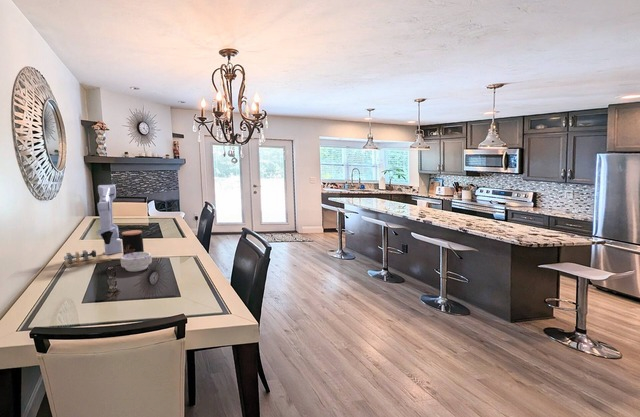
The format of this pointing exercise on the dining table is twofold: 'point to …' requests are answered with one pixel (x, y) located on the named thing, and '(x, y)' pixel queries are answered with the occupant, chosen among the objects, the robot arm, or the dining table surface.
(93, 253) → the shaft
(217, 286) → the dining table surface
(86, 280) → the dining table surface
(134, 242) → the coffee jar
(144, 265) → the paper bowls
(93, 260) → the base board
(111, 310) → the dining table surface
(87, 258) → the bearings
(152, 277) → the dining table surface
